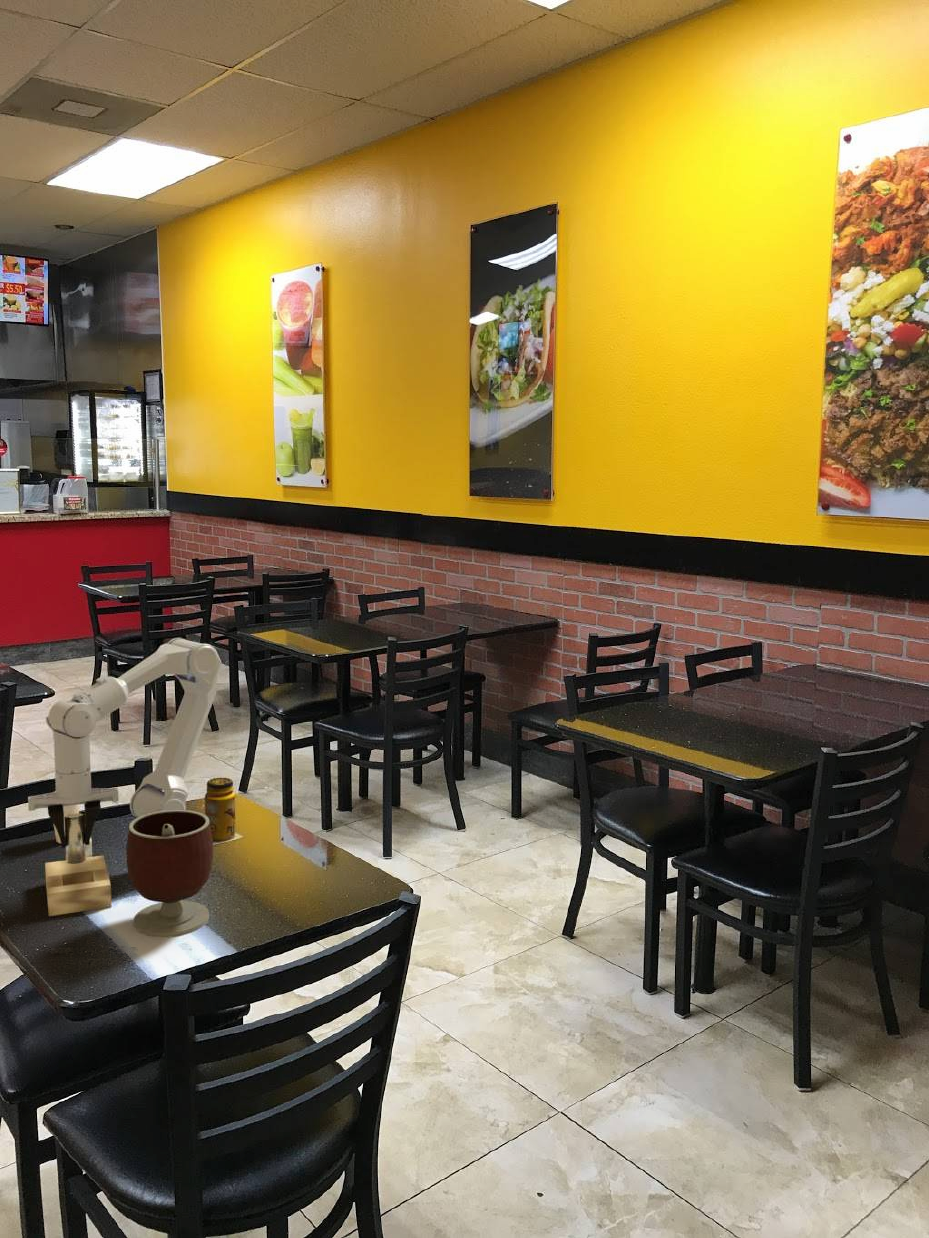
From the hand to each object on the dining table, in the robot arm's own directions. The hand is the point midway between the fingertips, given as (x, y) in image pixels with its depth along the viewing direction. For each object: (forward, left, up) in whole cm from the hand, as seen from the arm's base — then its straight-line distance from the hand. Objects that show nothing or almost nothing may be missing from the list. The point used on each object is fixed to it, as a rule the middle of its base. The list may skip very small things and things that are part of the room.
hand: (75, 844), depth 175 cm
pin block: (0, -1, -10) cm, 10 cm away
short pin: (+7, -17, -10) cm, 21 cm away
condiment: (-15, -31, -10) cm, 36 cm away
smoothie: (+14, -25, -10) cm, 31 cm away
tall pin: (0, 0, -3) cm, 3 cm away
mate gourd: (-20, +7, -10) cm, 23 cm away
